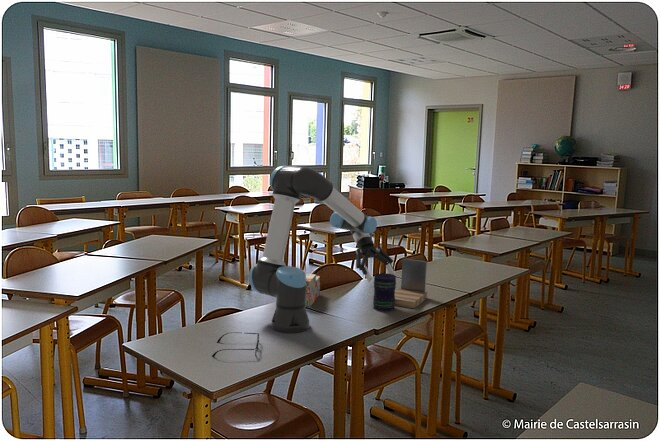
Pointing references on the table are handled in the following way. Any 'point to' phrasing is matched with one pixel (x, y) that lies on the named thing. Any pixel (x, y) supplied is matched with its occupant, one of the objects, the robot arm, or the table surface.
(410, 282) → the bookend
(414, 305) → the slatted wooden block
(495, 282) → the table surface
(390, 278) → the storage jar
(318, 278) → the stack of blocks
